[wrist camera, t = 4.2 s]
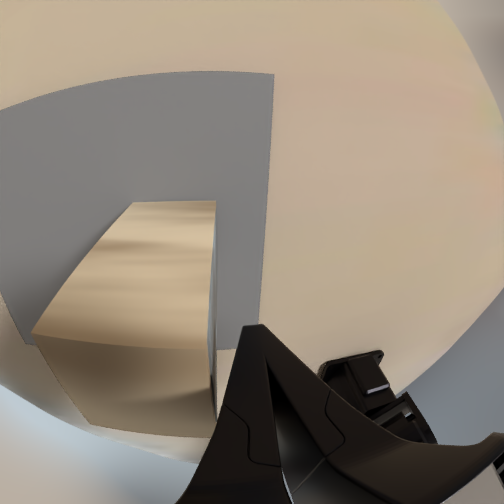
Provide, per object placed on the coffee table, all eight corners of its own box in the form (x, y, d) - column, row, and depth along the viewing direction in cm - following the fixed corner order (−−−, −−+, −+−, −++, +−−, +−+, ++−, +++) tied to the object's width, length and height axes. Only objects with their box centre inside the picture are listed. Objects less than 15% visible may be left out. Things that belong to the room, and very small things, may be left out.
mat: (254, 341, 21) (256, 346, 20) (28, 339, 17) (25, 343, 17) (271, 76, 12) (274, 74, 12) (-30, 125, 9) (-35, 126, 9)
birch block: (217, 275, 16) (218, 437, 7) (142, 274, 16) (89, 424, 7) (217, 200, 14) (208, 349, 5) (132, 202, 14) (30, 332, 5)
